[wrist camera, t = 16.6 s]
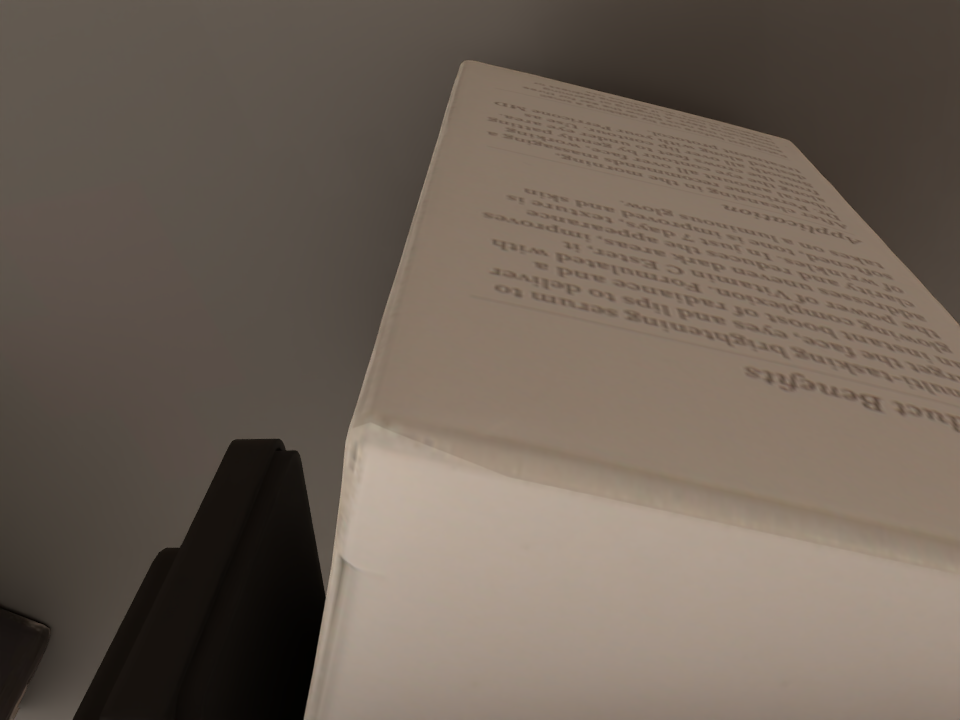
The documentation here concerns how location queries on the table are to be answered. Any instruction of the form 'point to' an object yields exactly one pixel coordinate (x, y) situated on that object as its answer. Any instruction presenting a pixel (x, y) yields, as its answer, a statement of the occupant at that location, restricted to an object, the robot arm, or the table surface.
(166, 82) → the table surface
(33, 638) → the camera
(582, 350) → the small box
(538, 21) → the table surface
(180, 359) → the table surface
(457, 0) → the table surface
